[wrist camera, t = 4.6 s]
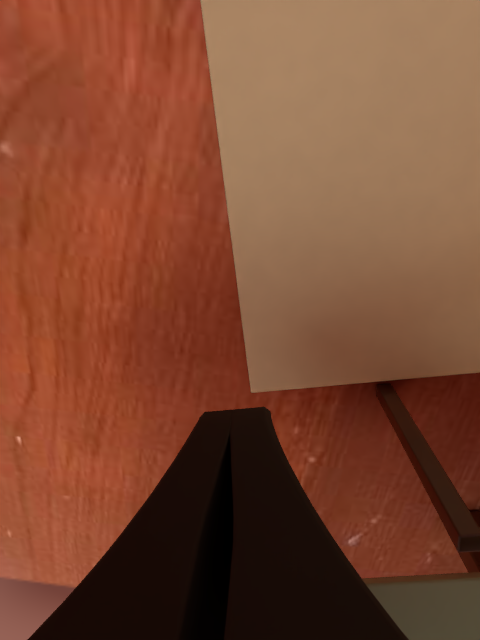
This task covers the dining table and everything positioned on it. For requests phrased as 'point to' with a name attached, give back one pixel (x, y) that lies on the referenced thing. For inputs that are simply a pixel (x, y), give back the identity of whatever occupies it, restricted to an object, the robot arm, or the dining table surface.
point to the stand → (434, 480)
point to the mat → (351, 185)
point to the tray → (431, 604)
